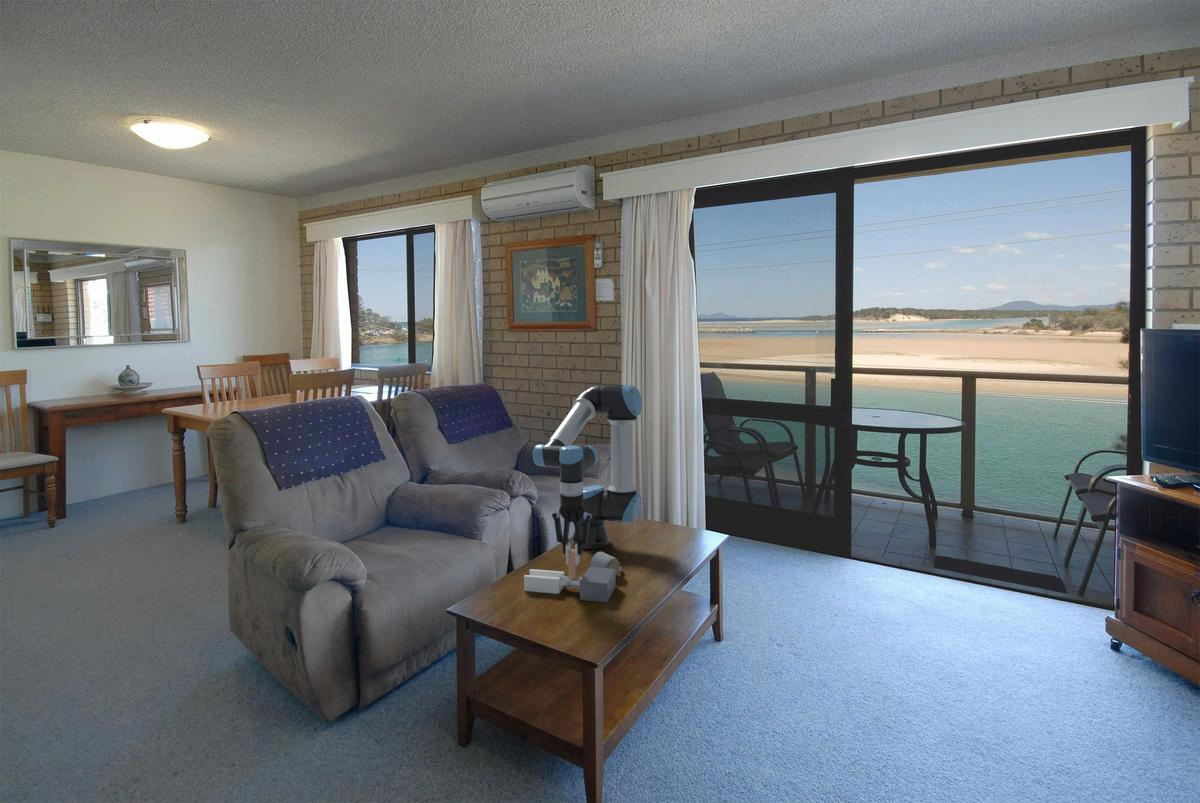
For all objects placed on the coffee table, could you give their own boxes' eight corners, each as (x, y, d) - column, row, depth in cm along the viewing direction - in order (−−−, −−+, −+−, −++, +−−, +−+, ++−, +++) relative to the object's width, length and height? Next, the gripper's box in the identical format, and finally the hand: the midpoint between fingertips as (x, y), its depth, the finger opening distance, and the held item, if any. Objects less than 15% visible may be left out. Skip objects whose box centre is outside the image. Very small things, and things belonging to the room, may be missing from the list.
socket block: (589, 584, 208) (589, 566, 207) (615, 586, 206) (615, 568, 205) (580, 599, 196) (579, 581, 195) (607, 602, 194) (607, 583, 193)
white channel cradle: (531, 583, 210) (530, 569, 209) (564, 586, 207) (564, 571, 206) (524, 590, 204) (523, 576, 203) (558, 593, 201) (558, 579, 200)
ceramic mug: (607, 581, 210) (607, 559, 210) (590, 575, 216) (590, 554, 215) (627, 573, 218) (627, 552, 217) (610, 567, 224) (610, 546, 223)
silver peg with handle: (560, 583, 206) (559, 548, 204) (606, 587, 202) (606, 551, 200) (557, 587, 202) (556, 551, 201) (604, 592, 199) (603, 555, 197)
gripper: (545, 495, 197) (546, 565, 200) (591, 498, 194) (592, 569, 196) (552, 489, 205) (553, 557, 207) (597, 492, 201) (598, 561, 204)
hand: (572, 563), depth 202 cm, fingers closed on silver peg with handle, 2 cm apart
